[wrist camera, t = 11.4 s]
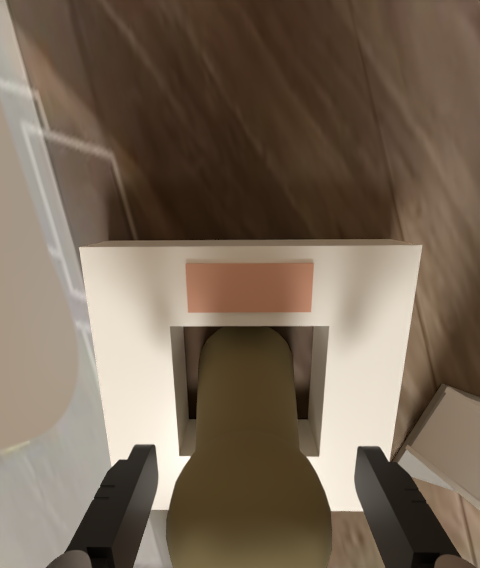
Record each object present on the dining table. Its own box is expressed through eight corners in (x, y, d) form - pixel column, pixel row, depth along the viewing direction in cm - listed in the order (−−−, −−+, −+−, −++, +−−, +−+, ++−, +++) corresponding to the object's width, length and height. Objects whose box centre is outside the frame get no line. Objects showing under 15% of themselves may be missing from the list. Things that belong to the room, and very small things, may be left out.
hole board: (390, 239, 16) (425, 245, 13) (361, 467, 20) (383, 514, 17) (108, 240, 16) (76, 247, 13) (135, 466, 20) (116, 512, 17)
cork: (187, 333, 18) (102, 519, 7) (282, 311, 17) (345, 473, 7) (213, 414, 19) (175, 669, 8) (301, 395, 19) (378, 640, 8)
